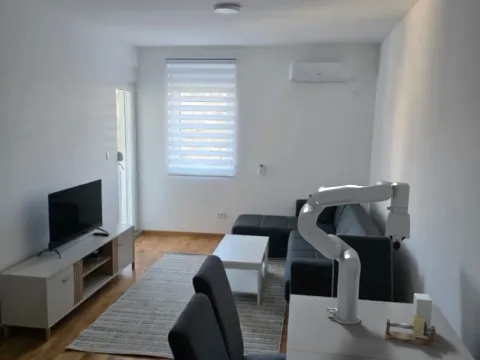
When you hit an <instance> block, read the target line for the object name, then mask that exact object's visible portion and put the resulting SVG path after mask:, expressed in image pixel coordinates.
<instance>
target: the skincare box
mask: <svg viewBox="0 0 480 360" xmlns="http://www.w3.org/2000/svg"><path fill="white" fill-rule="evenodd" d="M432 305H433V299H432V298H431V296H430V295H429V293H418V292H415V293H414V294H413V306H412V307H413V308H412V316H413V315H419V316H423V317H424V321H425V322H426V324H427V327H431V326H432V324H431V323H432ZM426 335H431V332H427V333H426Z"/></svg>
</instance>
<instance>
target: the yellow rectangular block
mask: <svg viewBox="0 0 480 360" xmlns="http://www.w3.org/2000/svg"><path fill="white" fill-rule="evenodd" d="M424 322H425V321H424V317H423V316H419V315H413V314H412V324H413V330H411V333H412V334H413V335H414V336H421V337H423V336H424V335H423V334H424Z"/></svg>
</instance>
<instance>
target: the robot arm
mask: <svg viewBox="0 0 480 360" xmlns="http://www.w3.org/2000/svg"><path fill="white" fill-rule="evenodd" d="M410 188H411V186H410V184H409V183H407V182H401V181H399V182H397V181H396V182H392V181H386V180H379V181H376V182H375V183H374V184H373V185H367V186H365V185H364V186H362V185H361V186H359V185H354V184H346V185H339V186H331V187H328V186H326V185H325V186H323V185H322V186H320V187H317V189H316V190H315V191H314V193H312V194H311V196H310V197H309V198H308V200H307V201H306V202H305V203H304V204H303V206H302V207H301V208H300V211H299V215H298V219H297V230H298V233H299V234H300V236H301V237H302V238H303V239H304V240H305V241H306V242H308V243H309V244H310V245H311V246H312V247H313V248H314V249H316V250H317V251H318V252H320V253H321V255H323V256H324V257H325V258H327V259H329V260H335V261H337V262H338V277H337V292H336V293H337V297H336V298H337V299H336V307H329V306H327V307H326V312H328V313H329V314H332V318H333V320H334V321H335V322H337V323H339V324H343V325H347V326H348V325H351V326H353V325H356V324H359V323H360V322H361V317H360V315H359V314H358V309H359V308H358V307H359V306H358V305H359V292H360V291H359V290H360V289H359V288H360V287H359V286H360V278H361V276H360V275H361V266H362V265H361V260H360V257H359V253H358V252H357V251H356V250H355V249H354V248H352V247H351V246H350V245H348V244H347V243H346V242H345V240H342V239H341V238H340V237H339V236H337V235H336V234H330V233H329V234H328V233H327V232H325V231H324V230H323V229H321V228H320V227H318V226H317V221H318V218H319V216H320V214H321V213H322V212H323V210H324V209H325V208H326V207H334V206H343V205H349V204H350V205H351V204H357V205H358V204H372V203H379V202H385V201H389V200H390V205H389V206H387V207H386V210H387V211H388V213H387V216H386V221H385V232H384V237H387V238H389V239H390V240H392V249H393V251H396V252H399V250H400V249H401V243H402V241H405V240H409V239H410V238H411V237H410V235H411V216H410V213H409V201H410V200H409V199H410V190H411V189H410ZM396 237H398V239H396Z"/></svg>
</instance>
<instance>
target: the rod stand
mask: <svg viewBox="0 0 480 360" xmlns="http://www.w3.org/2000/svg"><path fill="white" fill-rule="evenodd" d="M391 327H392V328H399V329H405V330H411V331H412V330H413V323H412V324H410V323H404V322H398V321H391V319H386V327H385V330H384V340H385V341H392V342H397V343H398V342H400V343H406V344H413V345H418V346H426V347H432V348H436V345H437V344H436V339H435V338H436V337H435V336H436V326H435V325H431V327H427V324H426V322H424V334H423V337H421V336H414V335H413V333H408V332H403V331H402V332H401V331H394V330H390V329H391ZM427 332H430V336H429V335H427V334H426V333H427Z"/></svg>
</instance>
